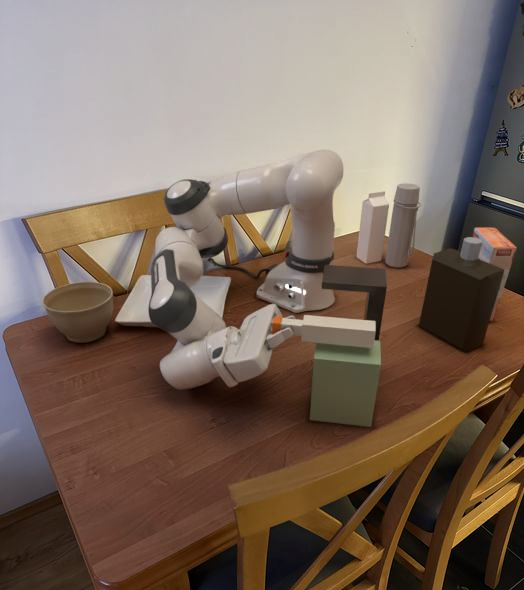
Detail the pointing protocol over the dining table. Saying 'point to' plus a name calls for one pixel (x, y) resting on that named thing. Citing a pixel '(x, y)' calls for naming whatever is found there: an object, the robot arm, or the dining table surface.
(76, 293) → the planter bowl
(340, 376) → the green block
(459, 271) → the bottle
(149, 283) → the square plate
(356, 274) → the dark l-shaped bracket
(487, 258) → the cracker box
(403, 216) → the water bottle
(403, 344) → the dining table surface
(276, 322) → the white bottle
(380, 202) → the milk
